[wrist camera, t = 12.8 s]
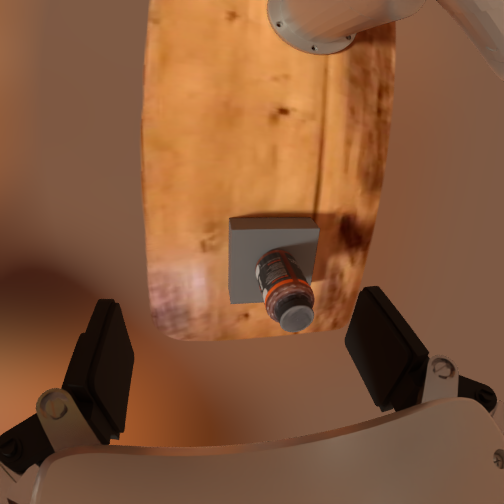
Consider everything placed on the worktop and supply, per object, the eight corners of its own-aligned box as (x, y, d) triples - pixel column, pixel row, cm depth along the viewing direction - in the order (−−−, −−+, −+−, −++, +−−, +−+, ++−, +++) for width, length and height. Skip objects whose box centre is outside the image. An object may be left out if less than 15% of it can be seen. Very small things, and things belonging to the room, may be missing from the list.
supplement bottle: (245, 273, 41) (259, 328, 31) (271, 240, 39) (294, 289, 29) (278, 290, 43) (299, 344, 34) (303, 260, 42) (332, 310, 32)
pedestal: (229, 218, 41) (231, 229, 38) (310, 217, 43) (319, 228, 40) (228, 288, 47) (230, 304, 43) (300, 284, 49) (307, 299, 45)
